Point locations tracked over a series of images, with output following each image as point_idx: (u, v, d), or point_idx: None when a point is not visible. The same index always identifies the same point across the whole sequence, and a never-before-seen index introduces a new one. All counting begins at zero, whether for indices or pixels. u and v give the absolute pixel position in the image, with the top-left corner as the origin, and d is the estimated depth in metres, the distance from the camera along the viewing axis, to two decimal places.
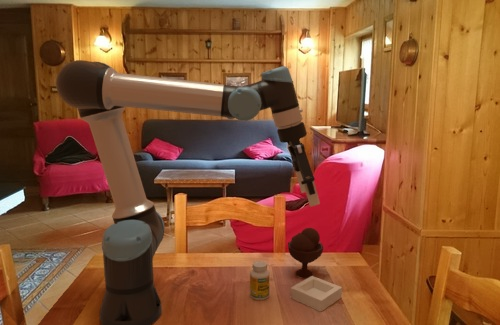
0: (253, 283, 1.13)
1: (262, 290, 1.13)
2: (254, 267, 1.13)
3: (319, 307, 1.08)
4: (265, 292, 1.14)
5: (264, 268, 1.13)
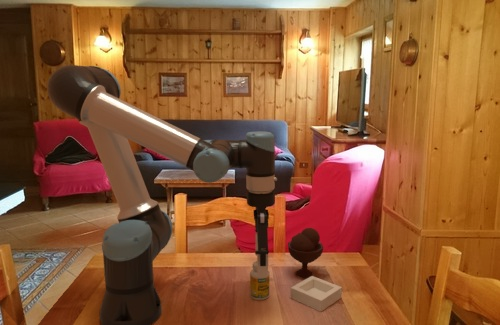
0: (253, 283, 1.13)
1: (262, 290, 1.13)
2: (254, 267, 1.13)
3: (319, 307, 1.08)
4: (265, 292, 1.14)
5: None
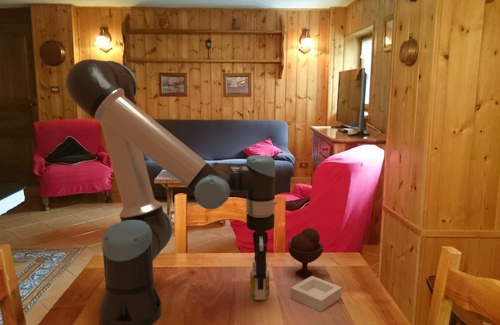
0: (253, 283, 1.13)
1: None
2: (254, 267, 1.13)
3: (319, 307, 1.08)
4: (265, 292, 1.13)
5: None
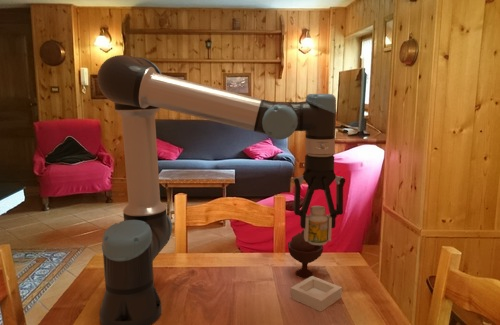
0: None
1: (308, 232, 1.11)
2: None
3: (319, 307, 1.08)
4: (310, 236, 1.10)
5: (312, 211, 1.09)
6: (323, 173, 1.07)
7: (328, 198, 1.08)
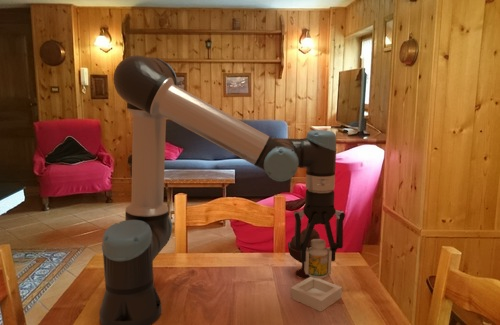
0: None
1: None
2: None
3: (319, 307, 1.08)
4: (310, 269, 1.12)
5: (313, 245, 1.11)
6: (323, 208, 1.09)
7: (328, 232, 1.10)
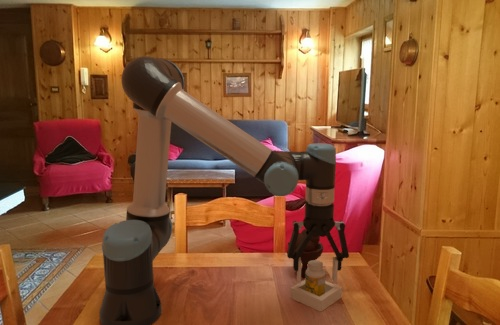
0: None
1: (306, 286, 1.14)
2: None
3: (319, 307, 1.08)
4: (307, 290, 1.13)
5: (310, 267, 1.12)
6: (322, 222, 1.10)
7: (331, 243, 1.11)
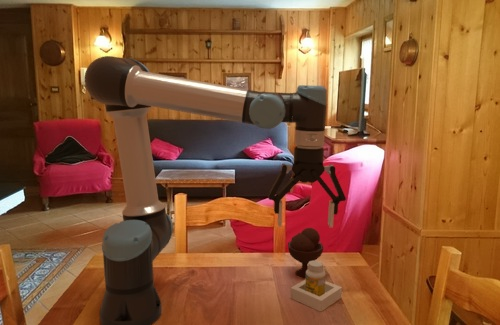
0: None
1: (306, 286, 1.14)
2: None
3: (319, 307, 1.08)
4: (308, 290, 1.13)
5: (310, 267, 1.12)
6: (311, 169, 1.07)
7: (324, 188, 1.08)
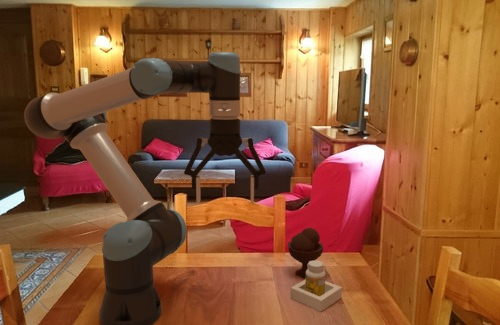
0: None
1: (306, 287, 1.14)
2: None
3: (319, 307, 1.08)
4: (308, 290, 1.13)
5: (310, 267, 1.12)
6: (227, 142, 1.02)
7: (242, 161, 1.02)
